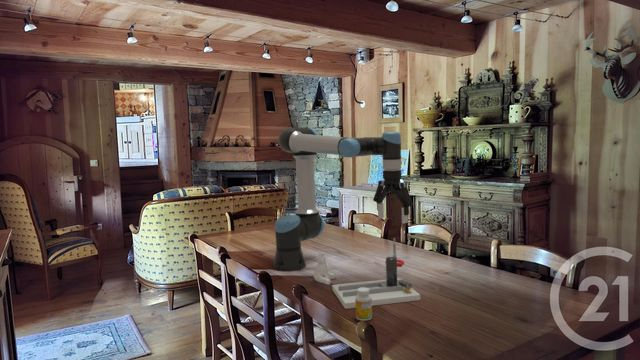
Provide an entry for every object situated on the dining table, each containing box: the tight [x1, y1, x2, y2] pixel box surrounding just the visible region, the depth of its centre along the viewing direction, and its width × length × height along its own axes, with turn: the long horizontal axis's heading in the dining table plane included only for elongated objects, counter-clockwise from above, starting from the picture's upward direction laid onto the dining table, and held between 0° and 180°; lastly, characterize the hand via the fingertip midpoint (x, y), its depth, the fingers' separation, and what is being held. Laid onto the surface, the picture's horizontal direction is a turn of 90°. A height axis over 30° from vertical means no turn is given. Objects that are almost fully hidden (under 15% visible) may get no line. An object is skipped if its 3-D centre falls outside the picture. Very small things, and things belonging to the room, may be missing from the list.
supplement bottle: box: [355, 287, 373, 322], centre depth 146 cm, size 5×5×10 cm
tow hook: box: [392, 237, 405, 267], centre depth 206 cm, size 8×13×9 cm
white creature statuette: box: [313, 252, 337, 286], centre depth 184 cm, size 10×9×12 cm
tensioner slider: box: [380, 256, 414, 289], centre depth 165 cm, size 11×10×11 cm
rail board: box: [331, 277, 421, 310], centre depth 166 cm, size 28×20×4 cm
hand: (392, 220), depth 184 cm, fingers open, 13 cm apart
